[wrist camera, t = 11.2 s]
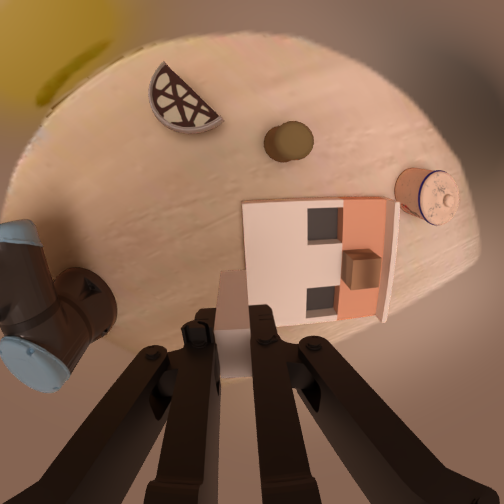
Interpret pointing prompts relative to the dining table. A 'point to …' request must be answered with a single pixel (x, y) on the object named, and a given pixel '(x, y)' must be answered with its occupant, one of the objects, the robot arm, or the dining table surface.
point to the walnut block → (360, 269)
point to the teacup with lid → (428, 195)
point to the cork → (289, 142)
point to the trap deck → (317, 256)
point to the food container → (179, 104)
